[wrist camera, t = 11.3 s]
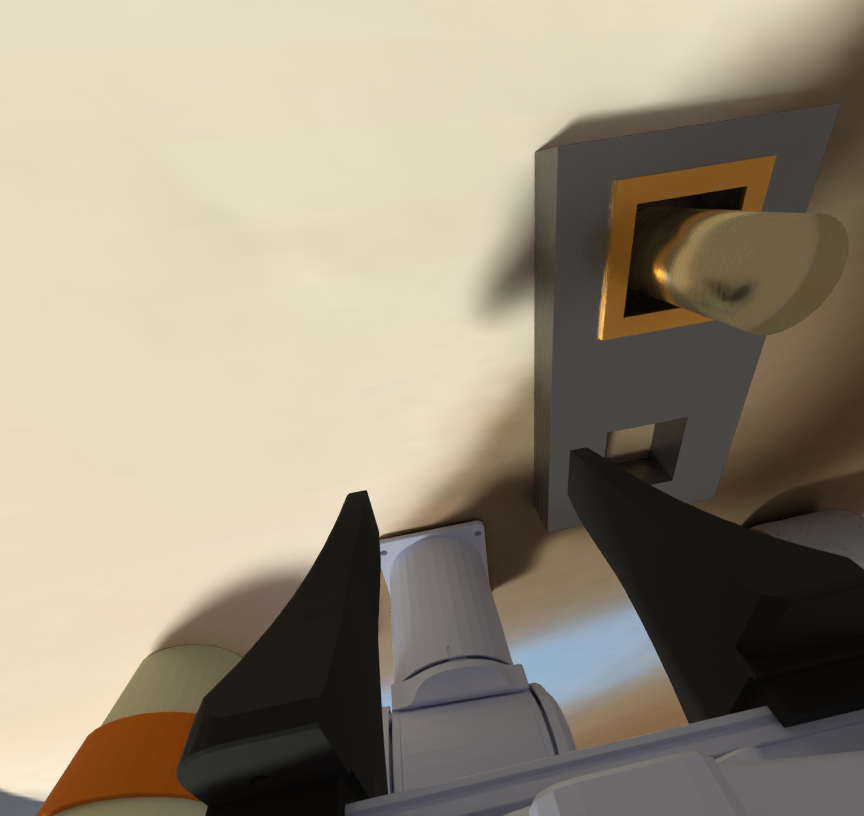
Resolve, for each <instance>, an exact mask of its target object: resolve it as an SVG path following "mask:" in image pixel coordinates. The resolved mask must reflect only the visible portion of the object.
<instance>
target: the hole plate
mask: <svg viewBox="0 0 864 816" xmlns="http://www.w3.org/2000/svg"><path fill="white" fill-rule="evenodd" d="M840 105H841V103H836V104H830V105H823V106H817V107H810V108H804V109H797V110H791V111H784V112H778V113H771V114H765V115H758V116H752V117H745V118H739V119H732V120H726V121H719V122H713V123H707V124H700V125H694V126H687V127H681V128H674V129H668V130H661V131H655V132H648V133H642V134H635V135H629V136H622V137H616V138H609V139H603V140H596V141H590V142H584V143H577V144H571V145H564V146H558V147H554V148H550V149H546V150H542V151H538V152H535V388H534V507H535V509H536V510H537V512H538V514H539V516H540V518H541V520H542V522H543V524H544V526H545V528H546V530H547V532H551V531H556V530H561V529H566V528H571V527H576V526H580V525H583V524H582V522H581V521H580V519H579V517H578V515H577V513H576V511H575V509H574V507H573V505H572V503H571V501H570V499H569V496H568V494H567V492H568V475H569V458H570V450H575V449H580V448H585V447H587V448H589V449H591V450H592V451H594V452H596V453H597V454H599V455H601V456H602V457H604V458H605V449H606V441H607V433H608V432H613V431H618V430H623V429H629V428H634V427H639V426H644V425H649V424H654V423H656V424H655V429H654V435H653V440H652V445H651V450H650V455H649V458H647V459H642V460H636V461H631V462H626V463H621V464H616V465H617V466H619V467H620V468H622V469H624V470H625V471H627V472H629V473H630V474H632V475H634V476H635V477H637V478H639V479H641V480H642V481H644V482H646V483H648V484H650V485H651V486H653V487H655V488H657V489H659V490H661V491H663V492H665V493H667V494H668V495H670V496H672V497H674V498H676V499H678V500H680V501H683V502H685V503H687V504H688V503H693V502H698V501H703V500H707V499H712V498H714V496H715V493H716V489H717V486H718V483H719V480H720V477H721V474H722V471H723V468H724V465H725V462H726V459H727V455H728V452H729V449H730V446H731V443H732V440H733V437H734V434H735V431H736V428H737V424H738V421H739V418H740V415H741V412H742V409H743V406H744V403H745V400H746V397H747V393H748V390H749V387H750V384H751V381H752V378H753V375H754V372H755V369H756V366H757V362H758V359H759V356H760V353H761V350H762V347H763V344H764V341H765V338H766V335H755V334H751V333H748V332H746V331H743V330H740V329H738V328H735V327H732V326H729V325H727V324H724V323H721V322H719V321H716V320H713V319H711V318H708V317H705V316H702V315H700V314H697V313H694V312H692V311H689V310H686V309H684V308H681V307H678V306H675V305H673V304H670V303H667V302H665V301H662V300H659V299H656V298H654V297H651V296H648V295H646V296H640V297H634V298H629V299H626V293H627V285H628V276H629V268H630V260H631V252H632V244H633V235H634V227H635V219H636V211H637V204H640V203H646V202H652V201H658V200H665V199H671V198H677V197H683V196H689V195H695V194H700V196H699V201H698V206H697V208H699V209H721V210H744V211H766V212H789V213H806V211H807V208H808V204H809V201H810V198H811V195H812V192H813V189H814V186H815V183H816V180H817V177H818V173H819V170H820V167H821V164H822V161H823V158H824V155H825V152H826V149H827V146H828V142H829V139H830V136H831V133H832V130H833V127H834V124H835V121H836V118H837V115H838V111H839V108H840Z"/></svg>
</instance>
